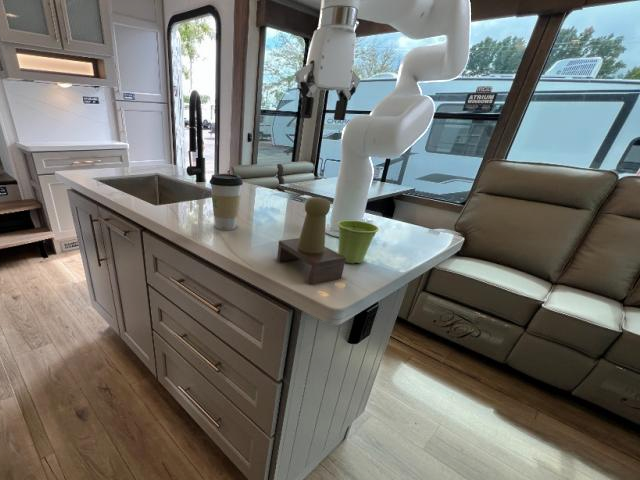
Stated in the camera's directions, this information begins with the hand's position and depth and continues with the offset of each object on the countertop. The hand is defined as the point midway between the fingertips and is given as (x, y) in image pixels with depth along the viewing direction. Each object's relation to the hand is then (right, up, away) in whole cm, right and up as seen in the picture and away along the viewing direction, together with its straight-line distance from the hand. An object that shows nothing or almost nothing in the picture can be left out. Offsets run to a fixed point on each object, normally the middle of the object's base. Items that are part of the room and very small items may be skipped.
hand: (322, 119), depth 74 cm
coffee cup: (-24, -19, +25) cm, 40 cm away
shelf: (-4, -35, 0) cm, 35 cm away
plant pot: (+8, -32, +6) cm, 34 cm away
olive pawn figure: (-4, -31, -3) cm, 31 cm away
